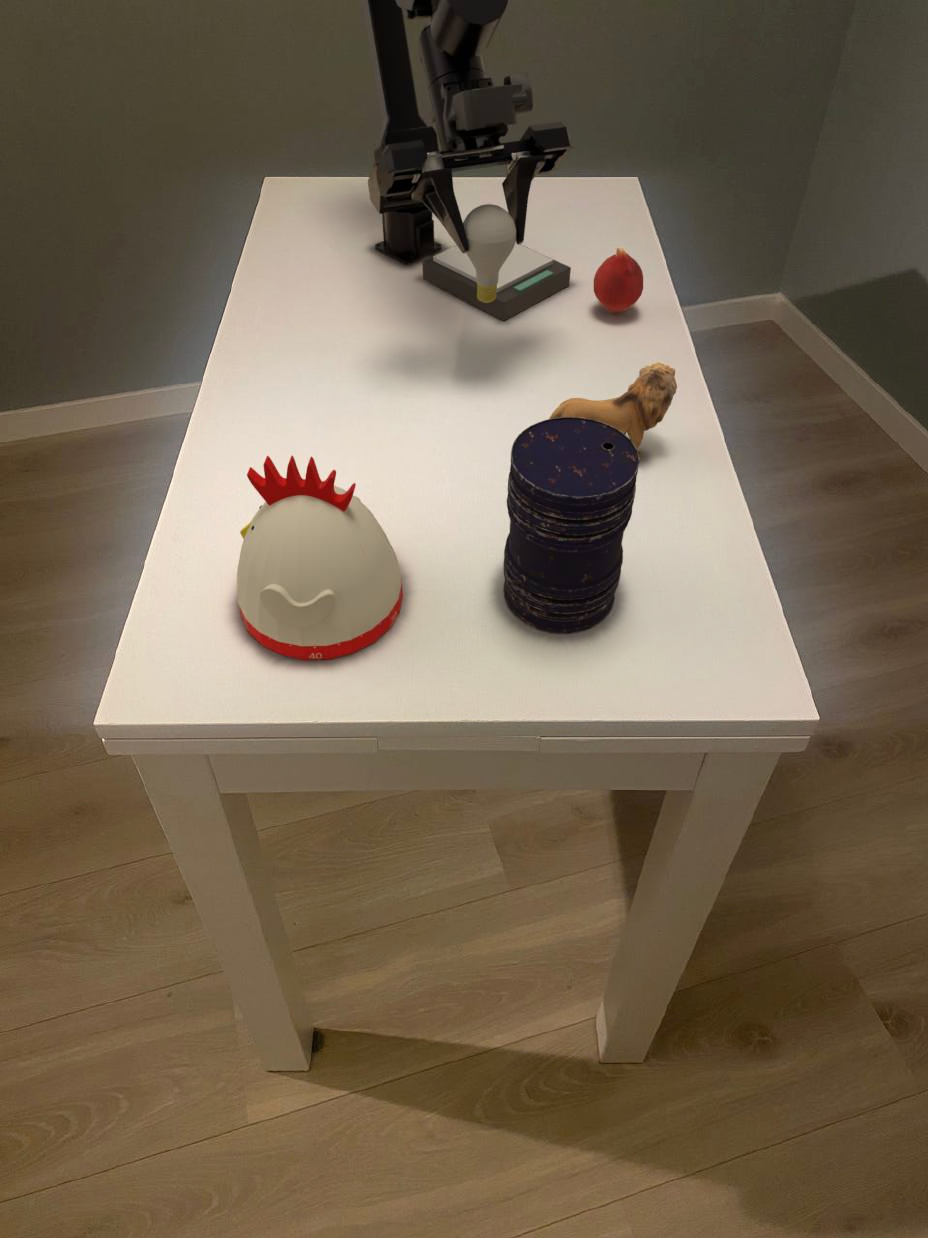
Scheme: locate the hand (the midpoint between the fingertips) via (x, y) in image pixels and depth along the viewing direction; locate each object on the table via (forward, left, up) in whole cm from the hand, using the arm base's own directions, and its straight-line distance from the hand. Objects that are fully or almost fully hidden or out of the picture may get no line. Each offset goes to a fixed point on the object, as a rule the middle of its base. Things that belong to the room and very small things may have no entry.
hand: (493, 247), depth 92 cm
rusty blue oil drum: (+27, -19, -15) cm, 36 cm away
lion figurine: (+17, -1, -15) cm, 23 cm away
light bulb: (-1, +1, -7) cm, 7 cm away
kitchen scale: (-14, +16, -15) cm, 26 cm away
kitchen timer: (+13, -34, -15) cm, 40 cm away
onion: (+1, +21, -15) cm, 26 cm away
